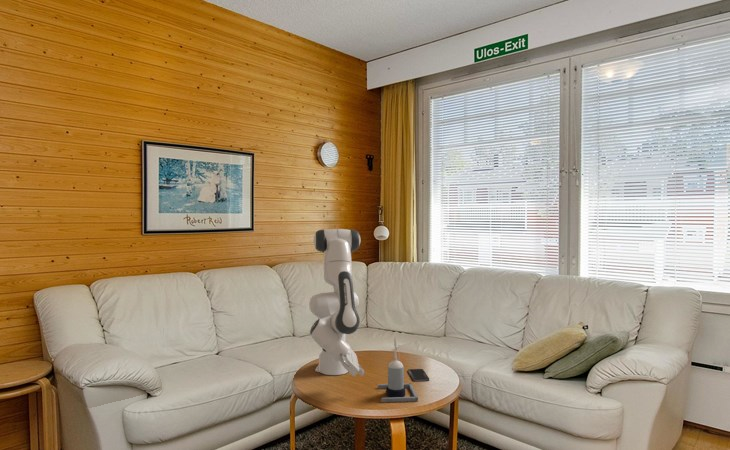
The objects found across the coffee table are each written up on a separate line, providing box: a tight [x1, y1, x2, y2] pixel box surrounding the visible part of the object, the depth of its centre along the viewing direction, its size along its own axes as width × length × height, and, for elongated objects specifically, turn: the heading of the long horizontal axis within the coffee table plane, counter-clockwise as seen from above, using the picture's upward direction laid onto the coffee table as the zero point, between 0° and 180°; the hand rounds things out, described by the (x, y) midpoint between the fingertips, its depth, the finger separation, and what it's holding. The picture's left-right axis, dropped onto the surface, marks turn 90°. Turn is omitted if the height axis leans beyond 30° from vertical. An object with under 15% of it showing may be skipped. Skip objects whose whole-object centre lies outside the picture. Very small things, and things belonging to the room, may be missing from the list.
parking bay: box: [377, 383, 419, 403], centre depth 195 cm, size 16×15×2 cm
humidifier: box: [385, 335, 406, 398], centre depth 195 cm, size 8×8×25 cm
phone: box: [407, 368, 430, 382], centre depth 218 cm, size 8×1×15 cm
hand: (363, 373), depth 194 cm, fingers closed
